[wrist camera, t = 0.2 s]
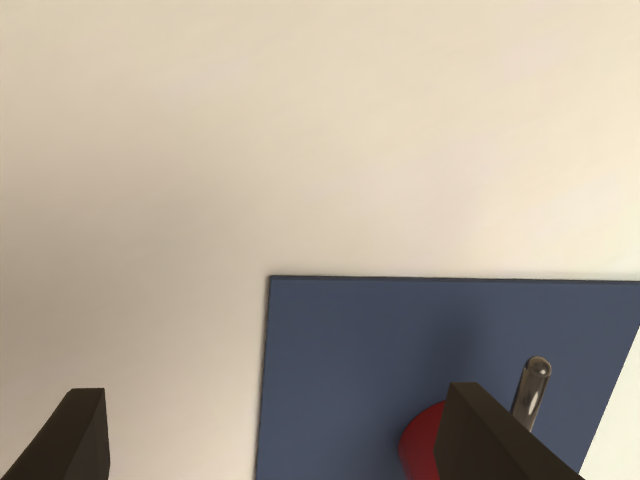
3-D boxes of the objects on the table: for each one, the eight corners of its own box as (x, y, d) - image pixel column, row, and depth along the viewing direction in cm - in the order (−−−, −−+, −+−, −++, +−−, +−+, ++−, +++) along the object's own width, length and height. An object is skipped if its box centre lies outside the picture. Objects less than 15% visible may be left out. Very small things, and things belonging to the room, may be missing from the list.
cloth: (543, 547, 33) (546, 552, 33) (248, 566, 31) (248, 572, 30) (652, 281, 25) (656, 285, 25) (270, 275, 23) (271, 279, 23)
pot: (496, 479, 30) (556, 603, 24) (389, 484, 29) (426, 614, 23) (557, 295, 25) (648, 398, 19) (430, 293, 24) (489, 402, 19)
